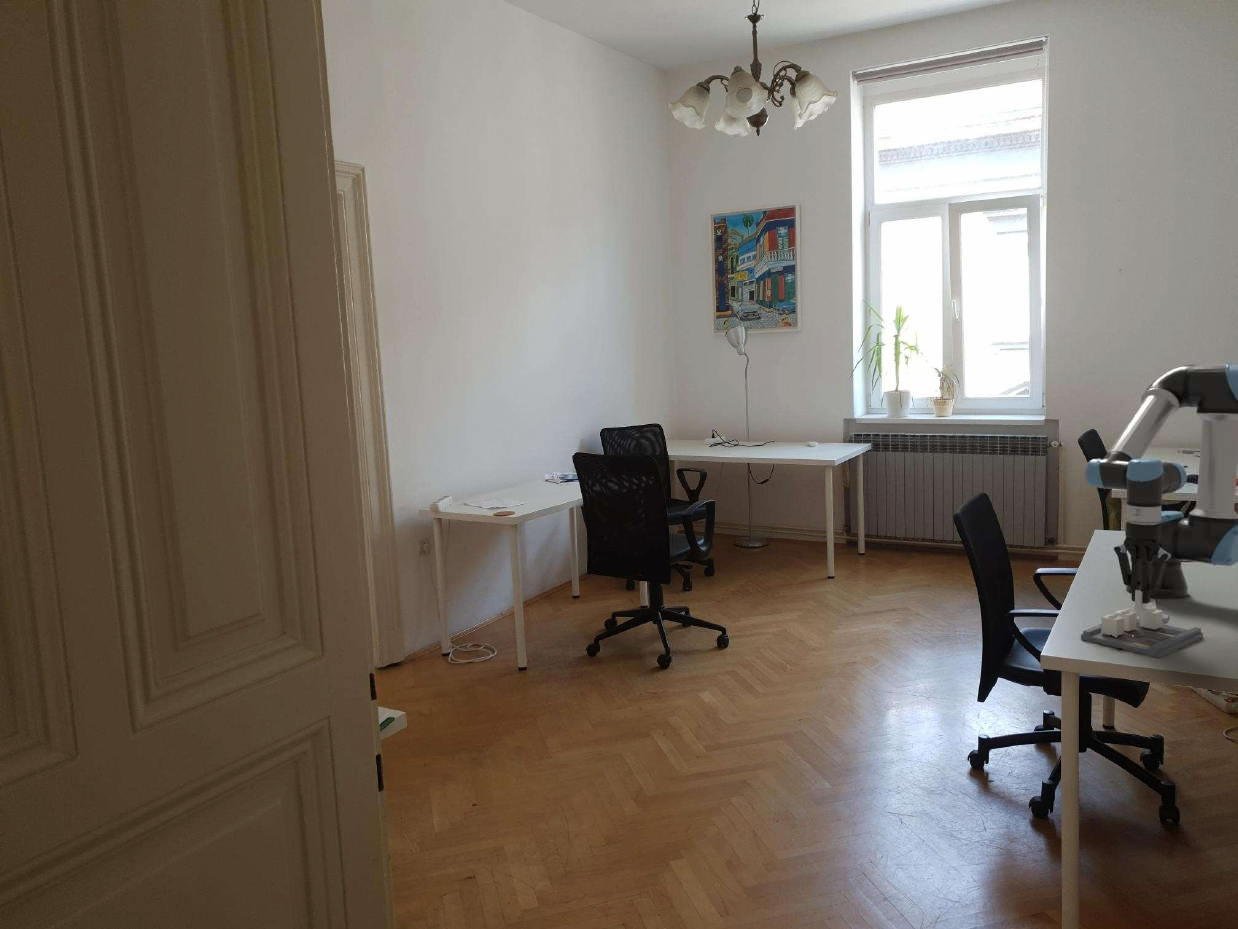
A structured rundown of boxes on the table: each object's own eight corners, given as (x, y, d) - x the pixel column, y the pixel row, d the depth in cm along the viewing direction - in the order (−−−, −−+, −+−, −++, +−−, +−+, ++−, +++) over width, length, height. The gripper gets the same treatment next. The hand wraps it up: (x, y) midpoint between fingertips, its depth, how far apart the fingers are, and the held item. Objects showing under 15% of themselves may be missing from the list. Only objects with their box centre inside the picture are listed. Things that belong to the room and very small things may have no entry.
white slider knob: (1120, 625, 222) (1121, 607, 222) (1136, 628, 219) (1136, 610, 219) (1113, 628, 220) (1114, 610, 220) (1128, 631, 217) (1129, 613, 217)
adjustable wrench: (1142, 603, 246) (1143, 597, 245) (1170, 606, 242) (1170, 600, 242) (1138, 622, 224) (1139, 615, 224) (1168, 626, 221) (1169, 619, 221)
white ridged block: (1108, 630, 219) (1109, 611, 218) (1123, 633, 216) (1124, 615, 215) (1101, 633, 217) (1101, 614, 216) (1116, 636, 214) (1116, 617, 213)
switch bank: (1125, 621, 230) (1126, 613, 230) (1203, 637, 215) (1203, 628, 215) (1080, 639, 218) (1081, 630, 218) (1159, 657, 203) (1159, 648, 203)
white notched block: (1146, 623, 223) (1147, 605, 222) (1162, 626, 220) (1162, 608, 219) (1139, 626, 221) (1140, 608, 220) (1155, 629, 218) (1155, 611, 217)
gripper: (1108, 520, 223) (1106, 612, 225) (1164, 527, 212) (1160, 623, 215) (1123, 516, 227) (1121, 606, 230) (1179, 523, 216) (1175, 618, 219)
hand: (1140, 615), depth 222 cm, fingers closed
